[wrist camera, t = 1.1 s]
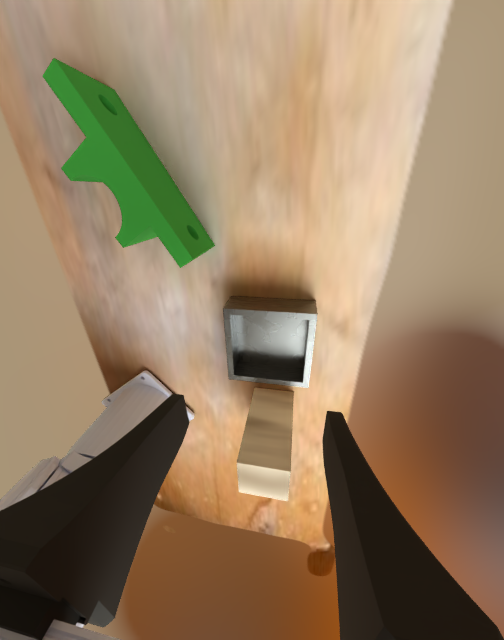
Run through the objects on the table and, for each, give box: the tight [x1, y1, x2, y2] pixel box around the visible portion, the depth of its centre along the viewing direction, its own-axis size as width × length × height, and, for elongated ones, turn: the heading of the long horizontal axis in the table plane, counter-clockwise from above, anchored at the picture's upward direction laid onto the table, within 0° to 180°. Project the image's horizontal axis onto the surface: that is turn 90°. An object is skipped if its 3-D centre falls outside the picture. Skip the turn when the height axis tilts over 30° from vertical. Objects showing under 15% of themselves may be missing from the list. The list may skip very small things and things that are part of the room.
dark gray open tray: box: [223, 296, 317, 388], centre depth 21 cm, size 7×7×2 cm
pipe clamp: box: [43, 58, 215, 268], centre depth 16 cm, size 11×4×5 cm, turn 32°
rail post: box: [237, 387, 294, 501], centre depth 22 cm, size 4×4×8 cm
